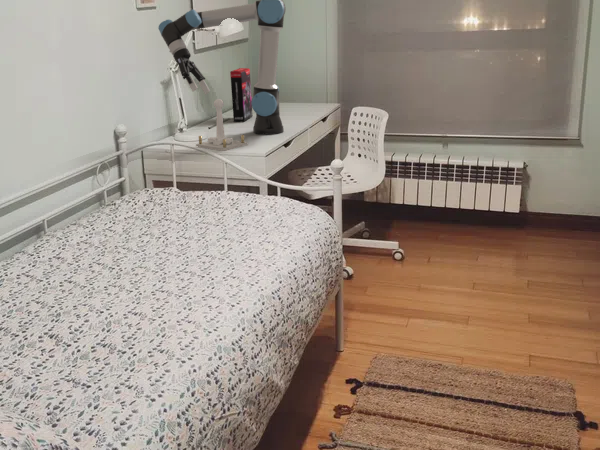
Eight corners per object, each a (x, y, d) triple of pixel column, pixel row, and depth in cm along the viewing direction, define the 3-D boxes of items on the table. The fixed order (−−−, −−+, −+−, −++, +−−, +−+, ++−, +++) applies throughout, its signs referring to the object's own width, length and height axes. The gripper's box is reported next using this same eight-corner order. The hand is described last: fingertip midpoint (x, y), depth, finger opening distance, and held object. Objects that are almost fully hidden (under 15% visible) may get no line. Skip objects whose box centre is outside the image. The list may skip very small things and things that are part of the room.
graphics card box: (244, 122, 374) (242, 71, 366) (232, 122, 376) (229, 71, 367) (252, 117, 390) (250, 67, 382) (241, 117, 392) (238, 67, 383)
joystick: (234, 142, 315) (231, 98, 309) (226, 145, 309) (224, 100, 303) (212, 141, 319) (209, 97, 313) (204, 144, 313) (201, 100, 306)
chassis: (220, 140, 326) (219, 131, 325) (247, 144, 317) (247, 134, 315) (196, 146, 314) (195, 136, 313) (223, 150, 304) (222, 140, 303)
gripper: (185, 60, 333) (206, 98, 331) (160, 52, 309) (183, 92, 307) (197, 51, 330) (218, 89, 329) (173, 42, 307) (196, 83, 305)
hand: (201, 91), depth 318 cm, fingers open, 13 cm apart
